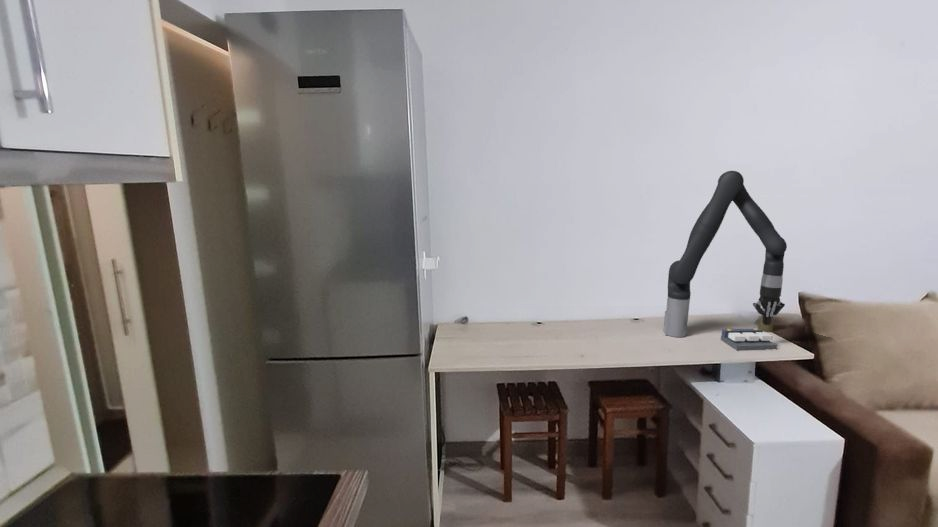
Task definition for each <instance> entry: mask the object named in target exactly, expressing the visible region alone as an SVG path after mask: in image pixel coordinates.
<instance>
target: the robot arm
mask: <svg viewBox="0 0 938 527" xmlns="http://www.w3.org/2000/svg"><path fill="white" fill-rule="evenodd" d="M717 180H718V181H717V186H716V188H715V190H714V192H713V195H712V196H711V199H710V201H709V202H708V203H707V204H706V206H705V208H704V209H703V210H702V211H701V212H700V214H699V216H698V217H697V219H696V221H695V223H694V225H693V227H692V228H691V230H690V233H689V237H688V241H687V244H686V248H685V249H684V253H683V254H682V256H681V257H680V259H679V260H676V261H673V263H671V265H670V267H669V269H668V278H667V280H668V281H667V299H666V310H665V311H664V316H663V317H664V318H663V319H664V321H663V327H662V328H663V329H662V331H663V333H664V335H665V336H669V337H673V338H685V337H686V336H687V332H688V322H689V313H690V312H689V311H690V305H691V304H690V302H691V281H692V280H693V279H694V276H695V274H696V272H697V270H698V267H699V265H700V262H701V260H702V258H703V256H704V255H705V253H706V252H707V250H708V248H709V247H710V245H711V243H712V241H713V240H714V238H715V237H716V235H717V233H718V231H719V230H720V228H721V225H722V223H723V221H724V218H725V216H726V214H727V211H728V209H729V207H730V205H731V204H732V202H733V203H734V204H735V206H736V207H737V208H738V210H739V211H740V213H741V214H742V216H743V217H744V219H745V220H746V223H747V224H748V225H749V227H750V228H751V229H752V230H753V232H754V234H756V236H757V237H758V238H759V240H760V242H761V243H762V245H763V246H764V248H765V254H764V256H765V258H764V263H763V269H762V270H763V271H762V275H761V279H760V280H761V281H760V288H759V298H758V300H757V302H753V303H752V306H753V307H754V309H755V310H756V312H757V313H758V315H761V316H762V315H763V320H762V322H763V324H764V325H770V323H771V318H772V316H777V315H778V314H779V313H780V312H781V310H782V309H783V308H784V307H785V306H786V304H785V303H783V302H782V301H781V298H780V297H781V296H782V295H781V294H782V289H783V288H782V287H783V282H784V281H783V279H784V278H783V276H784V275H783V274H784V265H785V264H784V258H785V253H786V251H787V246H788V245H787V243H786V240H785V239H784V238H783V237H782V236H781V235H780V233H778V231H777V230H776V228H775V226H774V225H773V223H772V221H771V220H770V218H769V217H768V216H767V214H766V213H765V212H764V211H763V209H762V208H761V207H760V206H759V205H758V203H757V202H755V200H754V199H753V197H751V195H750V193H749V192H748V191H747V189H746V187H745V184H744V181H745V179H744V177H743V174H741V173H740V172H739V171H737V170H728V171H726V172H723V173H722V174H721V175H720V176H719V178H718V179H717Z"/></svg>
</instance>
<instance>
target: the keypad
mask: <svg viewBox="0 0 938 527" xmlns="http://www.w3.org/2000/svg"><path fill="white" fill-rule="evenodd" d="M746 332H753V333H755V334H756V332H763V330H762V329H760V328H758V327H755V328H723V329H722V330H721V336H720V341H722V342H723V343H724V344H727V346H730V347H731V348H732V349H733V350H736V351H767V350H766V349H776V350H777V347H778V344H776V343H774V342H772V340H771V341H762V340H760V339H759V341H748V340H746V339H745V341H733V340H732V339H730V338H729V337H728V334H729V333H741V334H742V333H746Z"/></svg>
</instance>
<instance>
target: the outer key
mask: <svg viewBox="0 0 938 527" xmlns="http://www.w3.org/2000/svg"><path fill="white" fill-rule="evenodd" d="M756 335H758V336H759V339H760V340H762V341H771V342H772V341H774V335H772V334H771V333H770V332H756Z"/></svg>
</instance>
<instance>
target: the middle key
mask: <svg viewBox="0 0 938 527" xmlns="http://www.w3.org/2000/svg"><path fill="white" fill-rule="evenodd" d="M742 335H744V336H746V338H745V339H746V340H748V341H759V336H758V335H756V334H755V333H753V332H746V333H742Z"/></svg>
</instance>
